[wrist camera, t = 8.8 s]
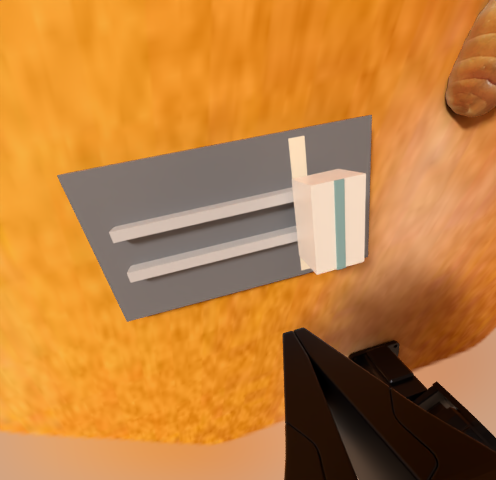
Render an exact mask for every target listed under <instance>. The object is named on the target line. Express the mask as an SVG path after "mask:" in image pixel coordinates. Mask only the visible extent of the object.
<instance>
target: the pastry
mask: <svg viewBox="0 0 496 480" xmlns="http://www.w3.org/2000/svg"><path fill="white" fill-rule="evenodd" d="M448 80H449V81H448V87H447V91H446V95H445V97H446V100H447V104H448V105H449V107H450V108H451V109H452V110H453V111H454V112H455V113H456V114H460V115H464V116H467V117H476V116H481V115H484V114H486V113H487V112H489V111H490V110H492V109H493V108H495V107H496V0H490V1H489V3H488V4H487V5H486V7H485V8H484V9H483V10H482V11H481V12H480V14H479V15H478V17H477V19H476V21H475V23H474V25H473V27H472V28H471V30H470V33H469V35H468V37H467V38H466V40H465V42H464V44H463V47H462V49H461V51H460V53H459V56H458V58H457V60H456V62H455V64H454V66H453V69H452V71H451V73H450V76H449V79H448Z"/></svg>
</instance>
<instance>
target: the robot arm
mask: <svg viewBox="0 0 496 480" xmlns="http://www.w3.org/2000/svg"><path fill="white" fill-rule="evenodd" d="M398 352H399V343H398V342H397V341H391V342H388V343H385V344H382V345H379V346H376V347H372V348H369V349H366V350H363V351H360V352H357V353H354V354H351V355H350V356H349V358H347V357H346V356H344V355H343V354H341V353H340V352H339V351H337V350H336V349H334V348H333V347H331V346H330V345H328V344H327V343H326V342H324V341H323V340H321V339H320V338H318V337H317V336H315V335H314V334H312V333H311V332H310V331H308V330H307V329H305V328H300V329H296V330H294V332H293V331H289V332H286V333H283V365H284V398H285V423H286V425H285V436H286V460H285V478H284V480H358V479H359V480H496V438H495V437H494V436H493V435H492V434H491V433H490V432H489V431H488V430H487V429H486V428H485V427H484V426H483V425H482V424H481V423H480V422H479V421H478V420H477V419H476V418H475V417H474V416H473V415H472V414H471V413H470V412H469V411H468V410H467V409H466V408H465V407H464V406H462V405H461V404H460V403H459V402H458V401H457V400H456V399H455V398H454V397H453V396H452V395H451V394H450V393H449V392H448V391H446V390H445V389H444V388H443V387H442V386H441V385H440V384H439V383H438V382H435V383H434V384H433V386H432V387H430V388H429V389H427V388H426V387H425V386H424V385H423V384H422V383H421V382H420V381H419V380H418V379H417V378H416V377H415V376H414V375H413V373H412V371H411V370H410V369H409V368H408V367H407V366H406V365H405V364H404V363H403V362H402V361H401V360H400V359H399V358H398ZM356 475H357V476H356ZM357 477H358V479H357Z"/></svg>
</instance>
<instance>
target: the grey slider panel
mask: <svg viewBox="0 0 496 480" xmlns="http://www.w3.org/2000/svg"><path fill="white" fill-rule="evenodd" d="M371 124H372V115H368V116H362V117H357V118H351V119H346V120H341V121H336V122H331V123H325V124H320V125H315V126H310V127H305V128H300V129H294V130H289V131H284V132H279V133H274V134H268V135H263V136H258V137H253V138H248V139H242V140H237V141H232V142H227V143H222V144H216V145H211V146H206V147H201V148H196V149H190V150H185V151H180V152H175V153H170V154H164V155H159V156H154V157H149V158H144V159H138V160H133V161H128V162H123V163H118V164H112V165H107V166H102V167H97V168H92V169H86V170H81V171H76V172H71V173H66V174H62V175H57V176H58V178H59V181H60V183H61V185H62V187H63V189H64V191H65V193H66V195H67V197H68V199H69V201H70V204H71V206H72V208H73V210H74V212H75V214H76V216H77V218H78V220H79V222H80V224H81V227H82V229H83V231H84V233H85V235H86V237H87V239H88V241H89V243H90V245H91V247H92V249H93V252H94V254H95V256H96V258H97V260H98V262H99V264H100V266H101V268H102V270H103V272H104V275H105V277H106V279H107V281H108V283H109V285H110V287H111V289H112V291H113V293H114V295H115V297H116V300H117V302H118V304H119V306H120V308H121V310H122V312H123V314H124V316H125V318H126V320H127V322H128V321H131V320H135V319H139V318H143V317H146V316H150V315H154V314H157V313H161V312H165V311H169V310H172V309H176V308H180V307H184V306H187V305H191V304H195V303H198V302H202V301H206V300H210V299H213V298H217V297H221V296H224V295H228V294H232V293H236V292H239V291H243V290H247V289H250V288H254V287H258V286H262V285H265V284H269V283H273V282H277V281H280V280H284V279H288V278H291V277H295V276H299V275H303V274H306V273H310V272H314V271H313V270H312V269H311V268H310V267H309V266H308V265H307V264H306V263H305V261H304V260H303V259H302V258H301V257H300V256H299V249H298V239H297V229H296V219H295V209H294V199H293V189H292V179H294V178H298V177H303V176H308V175H312V174H317V173H321V172H326V171H331V170H335V169H343V170H349V171H355V172H361V173H366V199H365V249H364V258H366V257H368V237H369V199H370V162H371Z"/></svg>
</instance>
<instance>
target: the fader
mask: <svg viewBox="0 0 496 480" xmlns="http://www.w3.org/2000/svg"><path fill="white" fill-rule="evenodd" d="M292 189H293V199H294V209H295V219H296V229H297V239H298V249H299V256H300V257H301V258H302V259H303V260H304V261H305V263H306V264H307V265H308V266H309V267H310V268H311V269H312V270H313V271H314V272H315V273H316V274H321V273H325V272H328V271H332V270H336V269H337V270H339V269H343V268H346V267H347V266H351V265H354V264H358V263H362V262H364V249H365V199H366V173H361V172H355V171H349V170H343V169H335V170H331V171H326V172H321V173H317V174H312V175H308V176H303V177H298V178H294V179H292Z"/></svg>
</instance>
